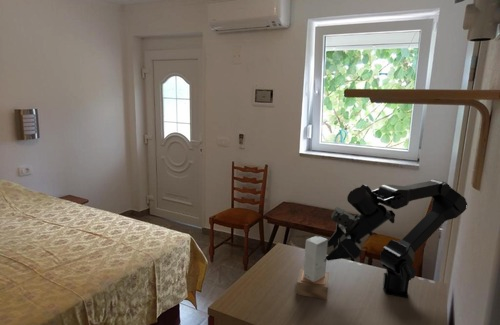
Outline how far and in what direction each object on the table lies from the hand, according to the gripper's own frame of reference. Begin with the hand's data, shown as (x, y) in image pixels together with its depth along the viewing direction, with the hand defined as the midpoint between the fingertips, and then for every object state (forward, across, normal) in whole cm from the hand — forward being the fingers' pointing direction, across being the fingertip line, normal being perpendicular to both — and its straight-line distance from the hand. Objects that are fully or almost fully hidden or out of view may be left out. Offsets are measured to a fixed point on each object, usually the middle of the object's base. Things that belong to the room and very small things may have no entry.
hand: (326, 252), depth 100 cm
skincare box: (+8, 0, +4) cm, 9 cm away
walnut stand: (+11, 0, +6) cm, 13 cm away
